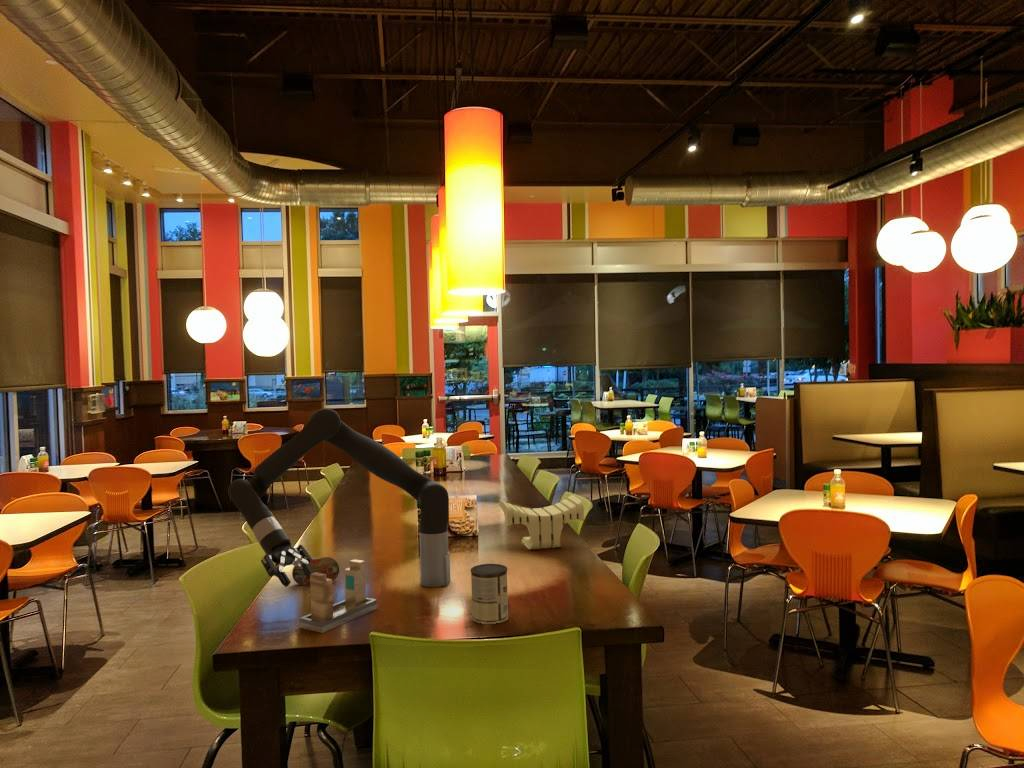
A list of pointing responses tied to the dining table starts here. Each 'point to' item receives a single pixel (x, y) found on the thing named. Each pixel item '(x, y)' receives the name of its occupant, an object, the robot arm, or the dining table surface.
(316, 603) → the maple finger
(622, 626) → the dining table surface
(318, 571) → the tin
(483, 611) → the coffee can
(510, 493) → the dining table surface
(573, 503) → the slatted curved stool
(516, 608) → the dining table surface
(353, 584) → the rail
